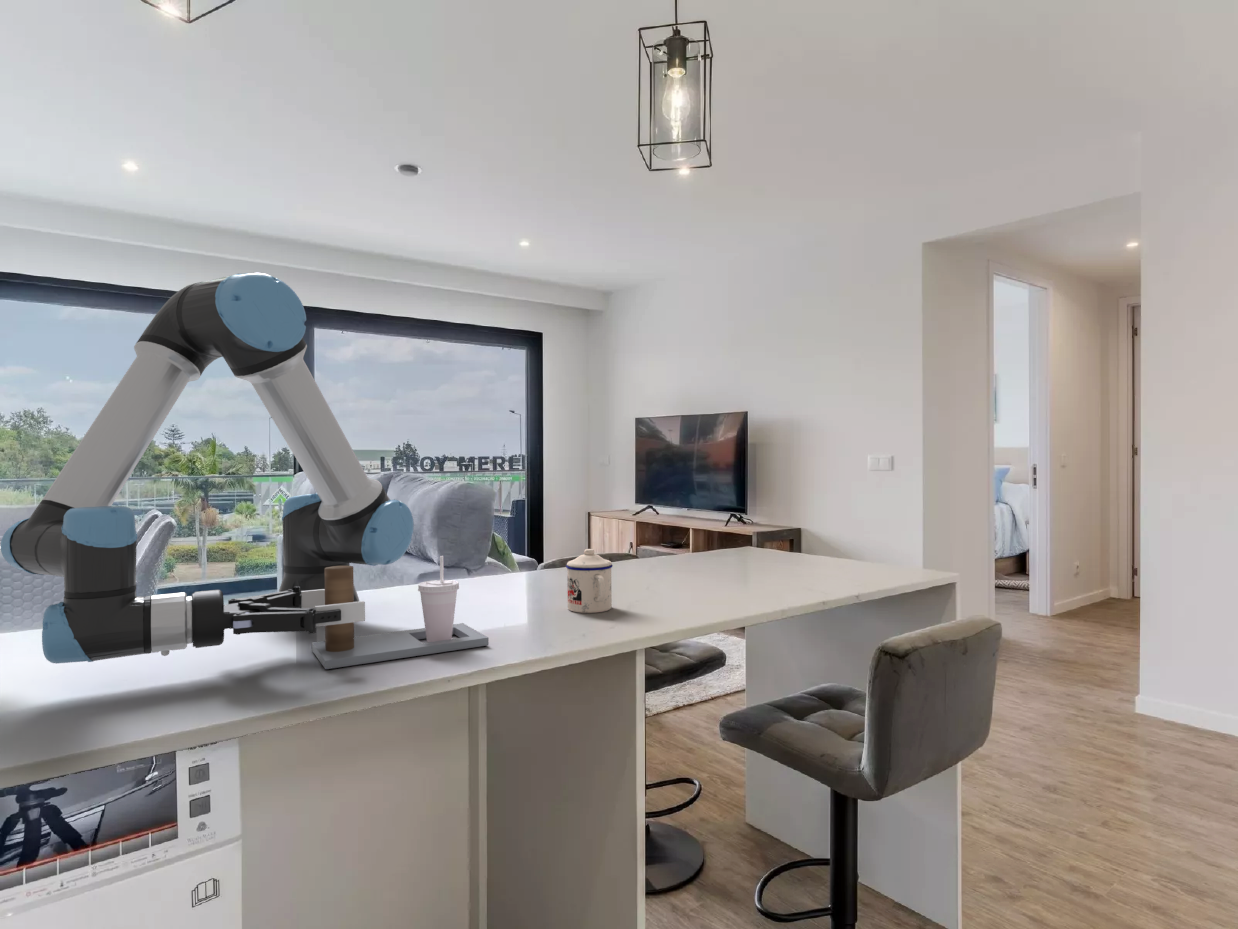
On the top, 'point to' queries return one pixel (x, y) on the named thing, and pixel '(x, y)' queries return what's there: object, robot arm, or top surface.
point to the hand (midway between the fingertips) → (355, 602)
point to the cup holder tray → (377, 647)
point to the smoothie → (438, 606)
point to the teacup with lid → (589, 583)
